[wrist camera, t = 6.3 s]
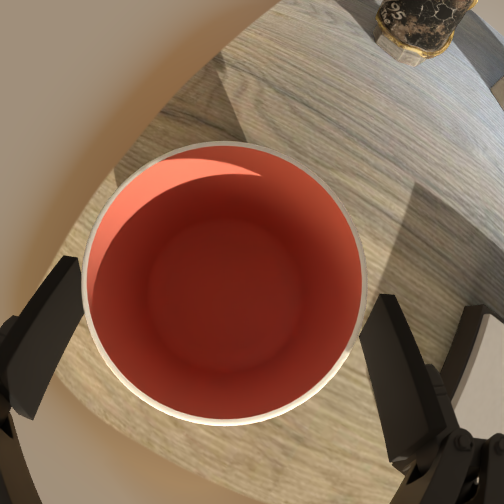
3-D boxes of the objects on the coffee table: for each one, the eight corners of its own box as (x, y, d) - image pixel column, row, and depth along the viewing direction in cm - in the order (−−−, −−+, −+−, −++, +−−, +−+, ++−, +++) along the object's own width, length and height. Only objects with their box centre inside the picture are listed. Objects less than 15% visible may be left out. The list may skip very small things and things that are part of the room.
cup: (201, 401, 18) (179, 472, 8) (121, 269, 20) (42, 229, 10) (330, 318, 20) (414, 317, 10) (249, 193, 21) (267, 101, 11)
